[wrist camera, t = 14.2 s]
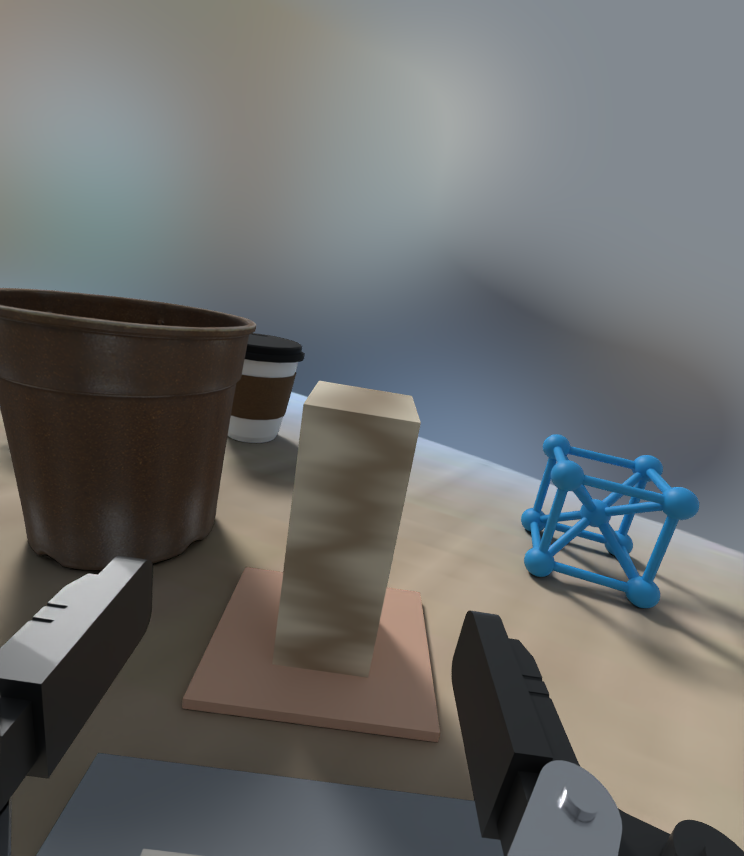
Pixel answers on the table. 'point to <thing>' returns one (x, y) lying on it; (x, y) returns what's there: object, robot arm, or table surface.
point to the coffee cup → (264, 388)
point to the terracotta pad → (310, 689)
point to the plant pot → (116, 420)
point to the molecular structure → (603, 517)
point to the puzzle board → (253, 816)
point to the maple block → (343, 525)
